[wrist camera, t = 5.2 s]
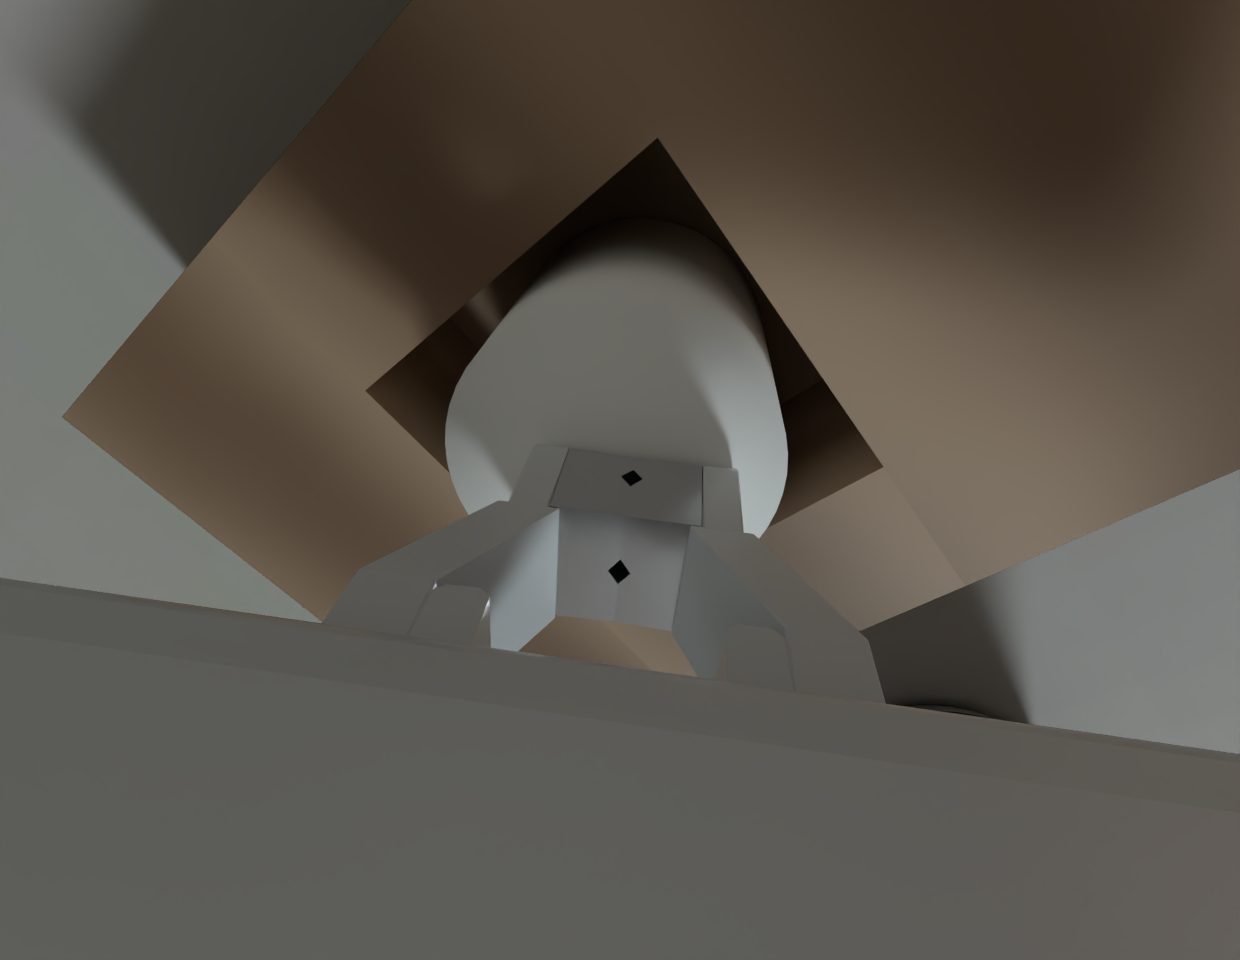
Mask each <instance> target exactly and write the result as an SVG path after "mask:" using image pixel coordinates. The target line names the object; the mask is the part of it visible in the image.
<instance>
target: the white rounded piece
mask: <svg viewBox="0 0 1240 960" xmlns="http://www.w3.org/2000/svg"><path fill="white" fill-rule="evenodd" d="M536 444H543V445H552V446H562V447H568V448H569V449H571V448H573V449H580V450H587V451H594V452H601V453H607V454H614V455H621V456H628V457H635V458H639V459H648V460H658V461H668V462H678V463H687V464H697V465H703V466H715V467H727V468H736V469H737V470H738V471H739V482H740V494H741V506H742V517H743V529H744V533H751V534H754V535H755V536H756V537H758V538H760V537H761V535H762V534H763V533H764V531H765V530H766V529H767V527H768V526H769V524H770V522H771V520H772V518H773V517H774V515H775V513H776V511H777V508H778V506H779V503H780V500H781V498H782V495H783V491H784V487H785V482H786V477H787V465H788V450H787V440H786V432H785V428H784V423H783V419H782V414H781V409H780V405H779V400H778V395H777V391H776V386H775V381H774V377H773V372H772V367H771V363H770V358H769V353H768V349H767V344H766V339H765V335H764V330H763V325H762V321H761V316H760V312H759V308H758V304H757V300H756V298H755V295H754V293H753V290H752V288H751V286H750V284H749V282H748V280H747V279H746V277H745V275H744V274H743V272H742V270H741V269H740V268H739V267H738V265H737V264H736V263H735V262H734V260H733V259H732V258H731V257H730V256H729V255H728V254H727V253H726V252H725V251H724V250H723V249H722V248H721V247H720V246H718V245H717V244H716V243H714V242H713V241H711V240H710V239H709V238H707V237H706V236H704V235H702V234H700V233H698V232H696V231H695V230H693V229H691V228H688V227H686V226H683V225H680V224H677V223H674V222H670V221H665V220H661V219H654V218H625V219H618V220H614V221H609V222H605V223H602V224H599V225H596V226H594V227H591V228H589V229H587V230H585V231H583V232H581V233H579V234H577V235H575V236H574V237H573V238H571V239H570V240H568V241H567V242H566V243H564V244H563V245H562V246H561V247H560V248H559V249H558V250H556V251H555V252H554V253H553V254H552V255H551V256H550V257H549V259H548V260H547V261H546V263H545V264H544V265H543V267H542V268H541V269H540V270H539V272H538V273H537V274H536V276H535V277H534V278H533V280H532V281H531V282H530V284H529V285H528V286H527V288H526V289H525V290H524V292H523V293H522V294H521V296H520V297H519V298H518V300H517V301H516V302H515V304H514V305H513V306H512V308H511V309H510V310H509V312H508V313H507V314H506V316H505V317H504V318H503V320H502V321H501V322H500V324H499V325H498V326H497V328H496V329H495V330H494V332H493V333H492V334H491V336H490V337H489V338H488V340H487V341H486V342H485V344H484V345H483V346H482V348H481V349H480V350H479V352H478V353H477V354H476V356H475V357H474V358H473V360H472V361H471V362H470V363H469V365H468V366H467V367H466V369H465V371H464V373H463V374H462V376H461V378H460V380H459V382H458V384H457V385H456V388H455V391H454V393H453V396H452V399H451V402H450V404H449V409H448V415H447V420H446V429H445V448H446V457H447V464H448V468H449V472H450V475H451V479H452V482H453V485H454V487H455V490H456V492H457V494H458V497H459V499H460V501H461V503H462V504H463V506H464V508H465V510H466V511H467V513H468V515H470V514H472V513H474V512H476V511H478V510H480V509H482V508H484V507H486V506H488V505H490V504H492V503H494V502H496V501H498V500H500V501H509V499H510V496H511V494H512V492H513V490H514V487H515V485H516V483H517V481H518V479H519V476H520V474H521V472H522V470H523V467H524V465H525V463H526V461H527V459H528V456H529V454H530V452H531V450H532V447H533V446H535V445H536Z"/></svg>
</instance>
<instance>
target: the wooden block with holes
mask: <svg viewBox="0 0 1240 960" xmlns="http://www.w3.org/2000/svg"><path fill="white" fill-rule="evenodd" d="M625 218H654V219H661V220H665V221H670V222H674V223H677V224H680V225H683V226H686V227H688V228H691V229H693V230H695V231H696V232H698V233H700V234H702V235H704V236H706V237H707V238H709V239H710V240H711V241H713V242H714V243H716V244H717V245H718V246H720V247H721V248H722V249H723V250H724V251H725V252H726V253H727V254H728V255H729V256H730V257H731V258H732V259H733V260H734V262H735V263H736V264H737V265H738V267H739V268H740V269H741V270H742V272H743V274H744V275H745V277H746V279H747V280H748V282H749V284H750V286H751V288H752V290H753V293H754V295H755V298H756V300H757V304H758V308H759V312H760V316H761V321H762V325H763V330H764V335H765V339H766V344H767V349H768V353H769V358H770V363H771V367H772V372H773V377H774V381H775V386H776V391H777V395H778V400H779V405H780V409H781V414H782V419H783V423H784V428H785V432H786V440H787V450H788V465H787V477H786V482H785V487H784V491H783V495H782V498H781V500H780V503H779V506H778V508H777V511H776V513H775V515H774V517H773V518H772V520H771V522H770V524H769V526H768V527H767V529H766V530H765V531H764V533H763V534H762V535H761V537H760V538H759V539H760V540H761V541H762V542H763V543H764V544H765V545H766V546H767V547H768V548H769V549H770V550H772V551H773V552H774V553H775V554H776V555H777V556H778V557H779V558H780V559H781V560H782V561H783V562H784V563H786V564H787V565H788V566H789V567H790V568H791V569H792V570H793V571H794V572H795V573H796V574H797V575H799V576H800V577H801V578H802V579H803V580H804V581H805V582H806V583H807V584H808V585H809V586H810V587H811V588H813V589H814V590H815V591H816V592H817V593H818V594H819V595H820V596H821V597H822V598H823V599H824V600H826V601H827V602H828V603H829V604H830V605H831V606H832V607H833V608H834V609H835V610H836V611H837V612H838V613H840V614H841V615H842V616H843V617H844V618H845V619H846V620H847V621H848V622H849V623H850V624H851V625H853V626H854V627H855V628H856V629H857V630H858V631H861V630H864V629H866V628H868V627H871V626H873V625H875V624H878V623H880V622H882V621H885V620H887V619H890V618H892V617H894V616H897V615H899V614H901V613H904V612H906V611H908V610H911V609H913V608H915V607H918V606H920V605H922V604H925V603H927V602H929V601H932V600H934V599H936V598H939V597H941V596H943V595H946V594H948V593H950V592H953V591H955V590H957V589H960V588H962V587H964V586H967V585H969V584H972V583H974V582H976V581H979V580H981V579H983V578H986V577H988V576H990V575H993V574H995V573H997V572H1000V571H1002V570H1004V569H1007V568H1009V567H1011V566H1014V565H1016V564H1018V563H1021V562H1023V561H1025V560H1028V559H1030V558H1032V557H1035V556H1037V555H1039V554H1042V553H1044V552H1046V551H1049V550H1051V549H1054V548H1056V547H1058V546H1061V545H1063V544H1065V543H1068V542H1070V541H1072V540H1075V539H1077V538H1079V537H1082V536H1084V535H1086V534H1089V533H1091V532H1093V531H1096V530H1098V529H1100V528H1103V527H1105V526H1107V525H1110V524H1112V523H1114V522H1117V521H1119V520H1121V519H1124V518H1126V517H1128V516H1131V515H1133V514H1136V513H1138V512H1140V511H1143V510H1145V509H1147V508H1150V507H1152V506H1154V505H1157V504H1159V503H1161V502H1164V501H1166V500H1168V499H1171V498H1173V497H1175V496H1178V495H1180V494H1182V493H1185V492H1187V491H1189V490H1192V489H1194V488H1196V487H1199V486H1201V485H1203V484H1206V483H1208V482H1210V481H1213V480H1215V479H1218V478H1220V477H1222V476H1225V475H1227V474H1229V473H1232V472H1234V471H1236V470H1239V469H1240V0H411V1H410V3H409V4H408V5H407V6H406V7H405V9H404V10H403V11H402V12H401V13H400V15H399V16H398V17H397V18H396V19H395V20H394V22H393V23H392V24H391V25H390V26H389V28H388V29H387V30H386V31H385V32H384V34H383V35H382V36H381V37H380V38H379V40H378V41H377V42H376V43H375V44H374V45H373V47H372V48H371V49H370V50H369V51H368V53H367V54H366V55H365V56H364V57H363V59H362V60H361V61H360V62H359V63H358V65H357V66H356V67H355V68H354V69H353V71H352V72H351V73H350V74H349V75H348V76H347V78H346V79H345V80H344V81H343V82H342V84H341V85H340V86H339V87H338V88H337V90H336V91H335V92H334V93H333V94H332V96H331V97H330V98H329V99H328V100H327V101H326V103H325V104H324V105H323V106H322V107H321V109H320V110H319V111H318V112H317V113H316V115H315V116H314V117H313V118H312V119H311V121H310V122H309V123H308V124H307V125H306V127H305V128H304V129H303V130H302V131H301V132H300V134H299V135H298V136H297V137H296V138H295V140H294V141H293V142H292V143H291V144H290V146H289V147H288V148H287V149H286V150H285V152H284V153H283V154H282V155H281V156H280V157H279V159H278V160H277V161H276V162H275V163H274V165H273V166H272V167H271V168H270V169H269V171H268V172H267V173H266V174H265V175H264V177H263V178H262V179H261V180H260V181H259V182H258V184H257V185H256V186H255V187H254V188H253V190H252V191H251V192H250V193H249V194H248V196H247V197H246V198H245V199H244V200H243V202H242V203H241V204H240V205H239V206H238V208H237V209H236V210H235V211H234V212H233V213H232V215H231V216H230V217H229V218H228V219H227V221H226V222H225V223H224V224H223V225H222V227H221V228H220V229H219V230H218V231H217V233H216V234H215V235H214V236H213V237H212V238H211V240H210V241H209V242H208V243H207V244H206V246H205V247H204V248H203V249H202V250H201V252H200V253H199V254H198V255H197V256H196V258H195V259H194V260H193V261H192V262H191V264H190V265H189V266H188V267H187V268H186V269H185V271H184V272H183V273H182V274H181V275H180V277H179V278H178V279H177V280H176V281H175V283H174V284H173V285H172V286H171V287H170V289H169V290H168V291H167V292H166V293H165V294H164V296H163V297H162V298H161V299H160V300H159V302H158V303H157V304H156V305H155V306H154V308H153V309H152V310H151V311H150V312H149V314H148V315H147V316H146V317H145V318H144V320H143V321H142V322H141V323H140V324H139V325H138V327H137V328H136V329H135V330H134V331H133V333H132V334H131V335H130V336H129V337H128V339H127V340H126V341H125V342H124V343H123V345H122V346H121V347H120V348H119V349H118V350H117V352H116V353H115V354H114V355H113V356H112V358H111V359H110V360H109V361H108V362H107V364H106V365H105V366H104V367H103V368H102V370H101V371H100V372H99V373H98V374H97V376H96V377H95V378H94V379H93V380H92V381H91V383H90V384H89V385H88V386H87V387H86V389H85V390H84V391H83V392H82V393H81V395H80V396H79V397H78V398H77V399H76V401H75V402H74V403H73V404H72V405H71V406H70V408H69V409H68V410H67V411H66V412H65V414H64V415H63V416H62V418H64V419H65V420H66V421H67V422H69V423H70V424H71V425H72V426H74V427H75V428H76V429H78V430H79V431H80V432H81V433H83V434H84V435H85V436H86V437H88V438H89V439H90V440H92V441H93V442H94V443H95V444H97V445H98V446H99V447H100V448H102V449H103V450H104V451H106V452H107V453H108V454H109V455H111V456H112V457H113V458H114V459H116V460H117V461H118V462H120V463H121V464H122V465H123V466H125V467H126V468H127V469H128V470H130V471H131V472H132V473H134V474H135V475H136V476H137V477H139V478H140V479H141V480H142V481H144V482H145V483H146V484H148V485H149V486H150V487H151V488H153V489H154V490H155V491H156V492H158V493H159V494H160V495H162V496H163V497H164V498H165V499H167V500H168V501H169V502H170V503H172V504H173V505H174V506H176V507H177V508H178V509H179V510H181V511H182V512H183V513H184V514H186V515H187V516H188V517H190V518H191V519H192V520H193V521H195V522H196V523H197V524H198V525H200V526H201V527H202V528H204V529H205V530H206V531H207V532H209V533H210V534H211V535H212V536H214V537H215V538H216V539H218V540H219V541H220V542H221V543H223V544H224V545H225V546H226V547H228V548H229V549H230V550H232V551H233V552H234V553H235V554H237V555H238V556H239V557H240V558H242V559H243V560H244V561H246V562H247V563H248V564H249V565H251V566H252V567H253V568H254V569H256V570H257V571H258V572H260V573H261V574H262V575H263V576H265V577H266V578H267V579H268V580H270V581H271V582H272V583H274V584H275V585H276V586H277V587H279V588H280V589H281V590H282V591H284V592H285V593H286V594H288V595H289V596H290V597H291V598H293V599H294V600H295V601H296V602H298V603H299V604H300V605H302V606H303V607H304V608H305V609H307V610H308V611H309V612H310V613H312V614H313V615H314V616H316V617H317V618H318V619H319V620H321V621H322V622H323V621H324V619H325V618H326V616H327V615H328V613H329V612H330V610H331V609H332V608H333V606H334V605H335V603H336V602H337V600H338V599H339V597H340V596H341V594H342V593H343V591H344V590H345V589H346V587H347V586H348V584H349V583H350V581H351V580H352V578H353V577H354V575H355V574H356V573H357V571H358V570H359V569H360V568H362V567H364V566H366V565H368V564H370V563H372V562H374V561H376V560H378V559H380V558H382V557H384V556H386V555H388V554H390V553H392V552H394V551H397V550H399V549H401V548H403V547H405V546H407V545H409V544H411V543H413V542H415V541H417V540H419V539H421V538H423V537H425V536H427V535H429V534H431V533H433V532H435V531H437V530H439V529H441V528H443V527H445V526H447V525H449V524H451V523H454V522H456V521H458V520H460V519H462V518H464V517H466V516H468V513H467V511H466V510H465V508H464V506H463V504H462V503H461V501H460V499H459V497H458V494H457V492H456V490H455V487H454V485H453V482H452V479H451V475H450V472H449V468H448V464H447V457H446V448H445V429H446V420H447V415H448V409H449V404H450V402H451V399H452V396H453V393H454V391H455V388H456V385H457V384H458V382H459V380H460V378H461V376H462V374H463V373H464V371H465V369H466V367H467V366H468V365H469V363H470V362H471V361H472V360H473V358H474V357H475V356H476V354H477V353H478V352H479V350H480V349H481V348H482V346H483V345H484V344H485V342H486V341H487V340H488V338H489V337H490V336H491V334H492V333H493V332H494V330H495V329H496V328H497V326H498V325H499V324H500V322H501V321H502V320H503V318H504V317H505V316H506V314H507V313H508V312H509V310H510V309H511V308H512V306H513V305H514V304H515V302H516V301H517V300H518V298H519V297H520V296H521V294H522V293H523V292H524V290H525V289H526V288H527V286H528V285H529V284H530V282H531V281H532V280H533V278H534V277H535V276H536V274H537V273H538V272H539V270H540V269H541V268H542V267H543V265H544V264H545V263H546V261H547V260H548V259H549V257H550V256H551V255H552V254H553V253H554V252H555V251H556V250H558V249H559V248H560V247H561V246H562V245H563V244H564V243H566V242H567V241H568V240H570V239H571V238H573V237H574V236H575V235H577V234H579V233H581V232H583V231H585V230H587V229H589V228H591V227H594V226H596V225H599V224H602V223H605V222H609V221H614V220H618V219H625ZM672 632H673V631H667V630H661V629H655V628H649V627H643V626H637V625H631V624H625V623H619V622H613V621H604V620H595V619H586V618H577V617H568V616H559V615H555V618H554V619H553V620H552V621H551V622H550V623H549V624H548V625H547V626H546V627H544V628H543V629H542V630H541V631H540V632H539V633H538V634H537V635H535V636H534V637H533V638H532V639H531V640H530V641H529V642H528V643H527V644H525V645H524V646H523V647H522V648H521V649H520V650H519V651H518V652H525V653H532V654H539V655H546V656H553V657H560V658H567V659H574V660H581V661H588V662H595V663H602V664H609V665H616V666H623V667H630V668H638V669H645V670H652V671H659V672H666V673H673V674H680V675H687V676H694V677H698V676H697V675H696V673H695V671H694V670H693V668H692V666H691V665H690V663H689V661H688V660H687V658H686V656H685V655H684V653H683V651H682V650H681V648H680V646H679V645H678V643H677V641H676V640H675V638H674V636H673V635H672Z"/></svg>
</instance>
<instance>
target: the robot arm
mask: <svg viewBox="0 0 1240 960" xmlns="http://www.w3.org/2000/svg"><path fill="white" fill-rule="evenodd" d="M555 615H559V616H568V617H577V618H586V619H595V620H604V621H613V622H619V623H625V624H631V625H637V626H643V627H649V628H655V629H661V630H667V631H673V632H672V635H673V636H674V638H675V640H676V641H677V643H678V645H679V646H680V648H681V650H682V651H683V653H684V655H685V656H686V658H687V660H688V661H689V663H690V665H691V666H692V668H693V670H694V671H695V673H696V675H697V676H698V677H694V676H687V675H680V674H673V673H666V672H659V671H652V670H645V669H638V668H630V667H623V666H616V665H609V664H602V663H595V662H588V661H581V660H574V659H567V658H560V657H553V656H546V655H539V654H532V653H525V652H518V651H519V650H520V649H521V648H522V647H523V646H524V645H525V644H527V643H528V642H529V641H530V640H531V639H532V638H533V637H534V636H535V635H537V634H538V633H539V632H540V631H541V630H542V629H543V628H544V627H546V626H547V625H548V624H549V623H550V622H551V621H552V620H553V619H554V618H555ZM0 960H1240V754H1235V753H1228V752H1221V751H1214V750H1207V749H1200V748H1193V747H1186V746H1179V745H1172V744H1165V743H1158V742H1151V741H1144V740H1137V739H1130V738H1123V737H1116V736H1109V735H1102V734H1095V733H1088V732H1081V731H1074V730H1067V729H1060V728H1053V727H1046V726H1039V725H1032V724H1025V723H1018V722H1011V721H1004V720H997V719H990V718H983V717H976V716H969V715H962V714H955V713H948V712H941V711H934V710H927V709H919V708H912V707H905V706H898V705H891V704H886V702H885V699H884V695H883V691H882V688H881V684H880V681H879V677H878V673H877V670H876V666H875V663H874V659H873V655H872V652H871V648H870V644H869V641H868V639H867V638H865V637H864V636H863V635H862V634H861V633H860V632H859V631H858V630H857V629H856V628H855V627H854V626H853V625H851V624H850V623H849V622H848V621H847V620H846V619H845V618H844V617H843V616H842V615H841V614H840V613H838V612H837V611H836V610H835V609H834V608H833V607H832V606H831V605H830V604H829V603H828V602H827V601H826V600H824V599H823V598H822V597H821V596H820V595H819V594H818V593H817V592H816V591H815V590H814V589H813V588H811V587H810V586H809V585H808V584H807V583H806V582H805V581H804V580H803V579H802V578H801V577H800V576H799V575H797V574H796V573H795V572H794V571H793V570H792V569H791V568H790V567H789V566H788V565H787V564H786V563H784V562H783V561H782V560H781V559H780V558H779V557H778V556H777V555H776V554H775V553H774V552H773V551H772V550H770V549H769V548H768V547H767V546H766V545H765V544H764V543H763V542H762V541H761V540H760V539H759V538H758V537H756V536H755V535H754V534H751V533H744V529H743V517H742V506H741V494H740V482H739V471H738V470H737V469H736V468H727V467H715V466H703V465H697V464H687V463H678V462H668V461H658V460H648V459H639V458H635V457H628V456H621V455H614V454H607V453H601V452H594V451H587V450H580V449H573V448H571V449H569V448H568V447H562V446H552V445H543V444H536V445H535V446H533V447H532V450H531V452H530V454H529V456H528V459H527V461H526V463H525V465H524V467H523V470H522V472H521V474H520V476H519V479H518V481H517V483H516V485H515V487H514V490H513V492H512V494H511V496H510V499H509V501H500V500H498V501H496V502H494V503H492V504H490V505H488V506H486V507H484V508H482V509H480V510H478V511H476V512H474V513H472V514H470V515H468V516H466V517H464V518H462V519H460V520H458V521H456V522H454V523H451V524H449V525H447V526H445V527H443V528H441V529H439V530H437V531H435V532H433V533H431V534H429V535H427V536H425V537H423V538H421V539H419V540H417V541H415V542H413V543H411V544H409V545H407V546H405V547H403V548H401V549H399V550H397V551H394V552H392V553H390V554H388V555H386V556H384V557H382V558H380V559H378V560H376V561H374V562H372V563H370V564H368V565H366V566H364V567H362V568H360V569H359V570H358V571H357V573H356V574H355V575H354V577H353V578H352V580H351V581H350V583H349V584H348V586H347V587H346V589H345V590H344V591H343V593H342V594H341V596H340V597H339V599H338V600H337V602H336V603H335V605H334V606H333V608H332V609H331V610H330V612H329V613H328V615H327V616H326V618H325V619H324V621H323V622H322V624H321V623H314V622H307V621H300V620H293V619H286V618H279V617H272V616H265V615H258V614H251V613H244V612H237V611H230V610H223V609H216V608H209V607H202V606H195V605H188V604H181V603H174V602H166V601H159V600H152V599H145V598H138V597H131V596H124V595H117V594H110V593H103V592H96V591H89V590H82V589H75V588H68V587H61V586H54V585H47V584H40V583H33V582H26V581H19V580H12V579H5V578H0Z"/></svg>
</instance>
